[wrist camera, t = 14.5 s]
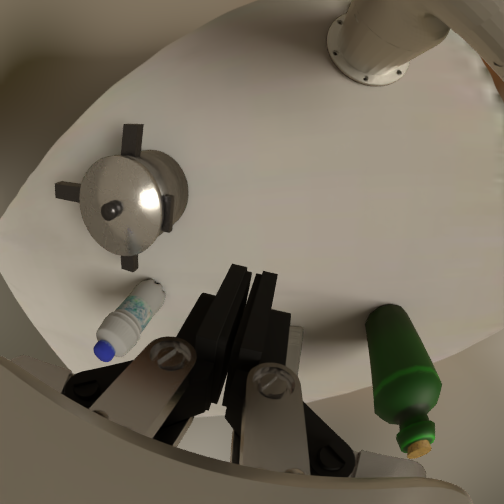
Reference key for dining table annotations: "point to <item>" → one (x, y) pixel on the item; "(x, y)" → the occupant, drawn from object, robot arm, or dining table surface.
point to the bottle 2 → (402, 378)
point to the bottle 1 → (128, 321)
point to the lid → (121, 205)
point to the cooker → (162, 171)
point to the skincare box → (294, 348)
